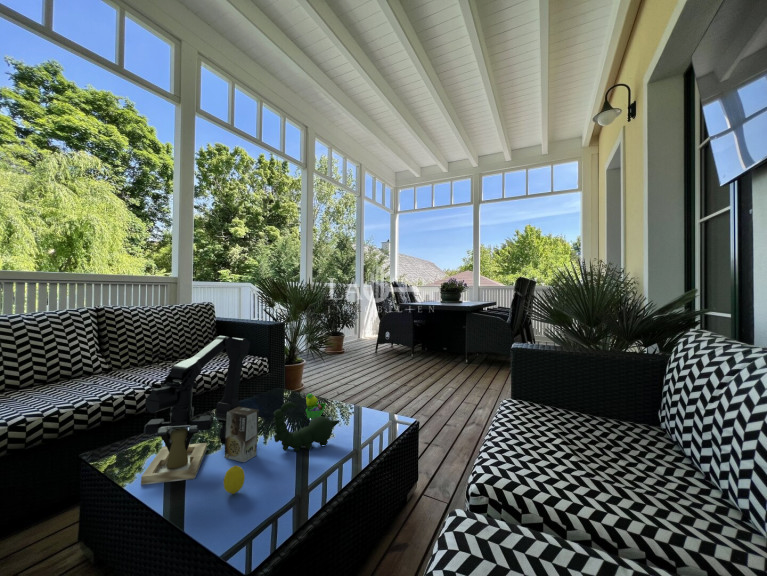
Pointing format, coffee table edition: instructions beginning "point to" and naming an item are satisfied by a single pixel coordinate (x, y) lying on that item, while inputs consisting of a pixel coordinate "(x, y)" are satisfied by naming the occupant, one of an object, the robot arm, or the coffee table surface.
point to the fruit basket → (314, 407)
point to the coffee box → (241, 434)
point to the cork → (178, 448)
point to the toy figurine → (302, 430)
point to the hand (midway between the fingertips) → (178, 450)
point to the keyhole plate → (162, 473)
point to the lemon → (234, 479)
